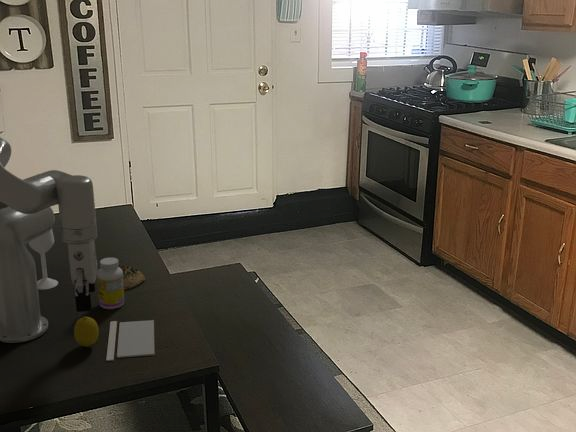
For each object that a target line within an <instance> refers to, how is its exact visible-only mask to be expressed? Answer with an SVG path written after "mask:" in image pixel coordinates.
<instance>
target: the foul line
mask: <svg viewBox="0 0 576 432" xmlns="http://www.w3.org/2000/svg"><path fill="white" fill-rule="evenodd" d="M117 325H118V321H117V320H113V321H110V323H109V333H108V339H107V340H108V342H107V351H106V359H105V361H106V362H111V361H112V362H113V361H114V360H115V359H114V358H115V351H116V349H115V348H116V340H117V339H116V336H117Z"/></svg>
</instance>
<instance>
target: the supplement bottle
mask: <svg viewBox="0 0 576 432" xmlns="http://www.w3.org/2000/svg"><path fill="white" fill-rule="evenodd" d="M119 264H120V263H119V259H118V258H116V257H105V258H102V259H101V260H100V261H99V266H100V268H98V270H97V276H96V282H97V294H98V305H99V307H101V308H102V309H105V310H115V308H116V309H118V308H121V307H122V306H123V305H124V304H125V289H124V286H123V271H122V269H121V268H119V267H120V266H119Z"/></svg>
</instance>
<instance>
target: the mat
mask: <svg viewBox="0 0 576 432" xmlns="http://www.w3.org/2000/svg"><path fill="white" fill-rule="evenodd" d="M116 350H117V351H116V359H121V358H132V357H133V358H134V357H145V356H146V357H147V356H148V357H149V356H155V355H156V354H155V320H154V319H152V320H151V319H149V320H138V321H135V320H134V321H124V322H123V321H122V322H121V321H120V322H119V327H118V337H117V349H116Z"/></svg>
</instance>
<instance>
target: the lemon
mask: <svg viewBox="0 0 576 432" xmlns="http://www.w3.org/2000/svg"><path fill="white" fill-rule="evenodd" d="M99 333H100V331H99V326H98V323H97V321H96V320H95V319H94V318H92V317H90V316H83V317H81V318H79V319H78V320H77V321H76V322H75V325H74V328H73V335H74V340H75V341H76V342H77V344H79V345H81V346H83V347H87V348H89V347H90V346H92V345H94V344H95V343H96V342H97V340H98V338H99Z"/></svg>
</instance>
